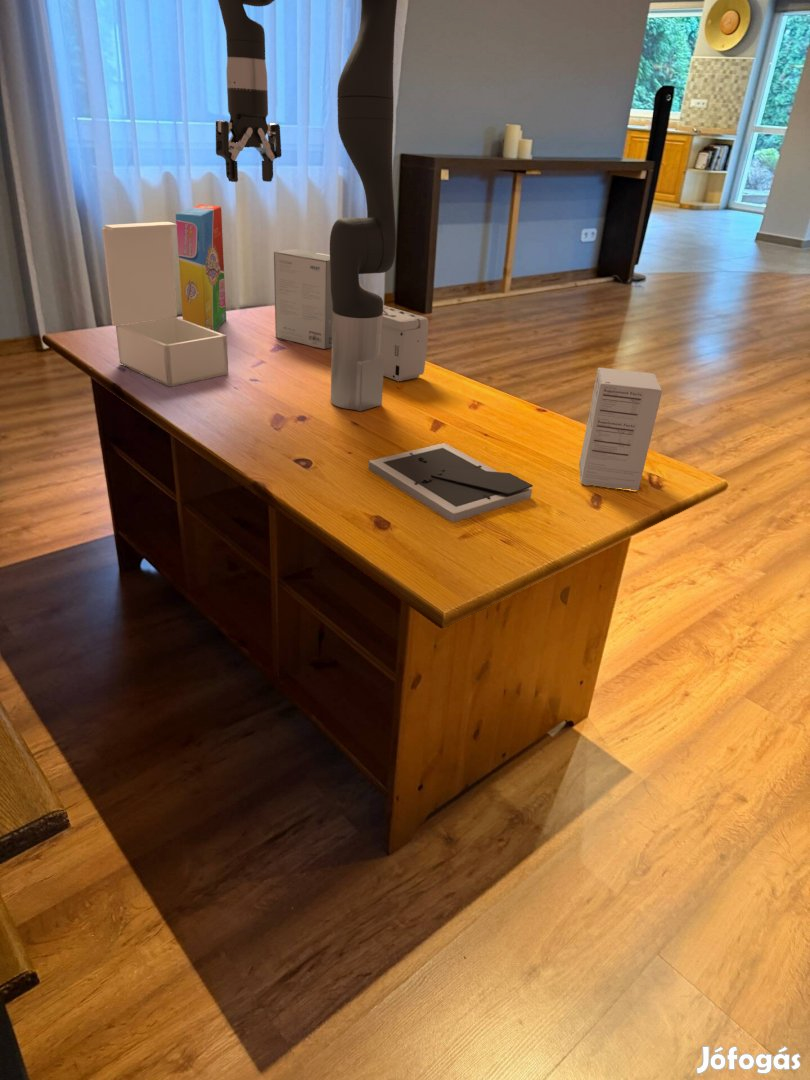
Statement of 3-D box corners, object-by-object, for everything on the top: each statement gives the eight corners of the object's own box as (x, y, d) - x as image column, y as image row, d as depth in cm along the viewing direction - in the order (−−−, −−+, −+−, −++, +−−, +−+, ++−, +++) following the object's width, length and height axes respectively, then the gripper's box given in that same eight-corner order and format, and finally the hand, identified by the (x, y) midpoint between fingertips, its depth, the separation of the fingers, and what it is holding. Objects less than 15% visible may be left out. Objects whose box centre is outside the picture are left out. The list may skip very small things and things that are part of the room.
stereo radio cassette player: (425, 378, 165) (434, 282, 155) (399, 385, 159) (406, 286, 149) (359, 355, 177) (362, 264, 167) (332, 360, 171) (334, 268, 161)
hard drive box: (344, 344, 183) (347, 257, 174) (325, 350, 178) (326, 261, 168) (294, 331, 190) (293, 247, 180) (273, 337, 184) (272, 250, 175)
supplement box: (639, 493, 120) (664, 390, 112) (579, 486, 121) (600, 383, 113) (633, 469, 128) (656, 372, 120) (578, 462, 129) (597, 365, 121)
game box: (206, 341, 178) (199, 215, 165) (183, 339, 178) (174, 213, 164) (226, 319, 196) (221, 205, 183) (205, 318, 196) (198, 203, 183)
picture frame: (530, 501, 116) (443, 454, 130) (533, 485, 115) (444, 438, 129) (452, 526, 108) (368, 472, 122) (454, 509, 106) (368, 456, 120)
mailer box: (228, 374, 158) (226, 335, 154) (169, 387, 148) (165, 346, 144) (178, 353, 168) (175, 316, 164) (120, 364, 158) (115, 325, 154)
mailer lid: (178, 224, 153) (156, 217, 157) (110, 227, 143) (89, 220, 148) (183, 319, 163) (163, 310, 167) (121, 328, 153) (100, 319, 157)
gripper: (229, 84, 137) (233, 183, 145) (289, 90, 147) (290, 183, 155) (203, 83, 141) (209, 180, 149) (264, 89, 151) (266, 179, 159)
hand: (250, 181), depth 152 cm, fingers open, 8 cm apart
